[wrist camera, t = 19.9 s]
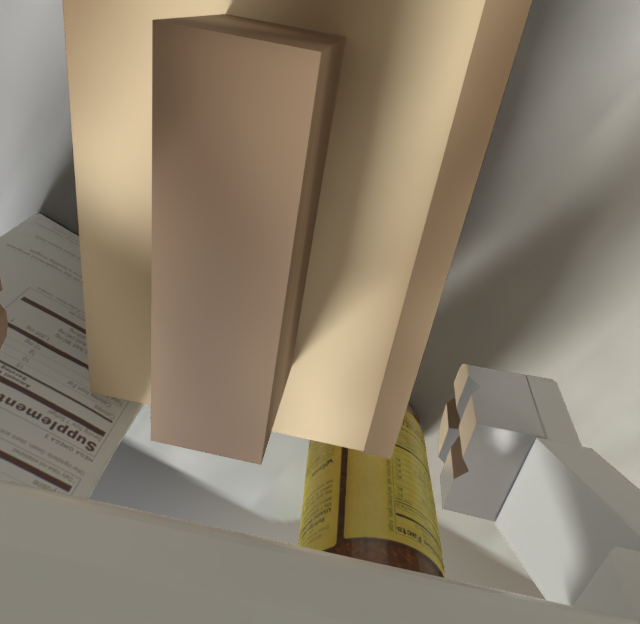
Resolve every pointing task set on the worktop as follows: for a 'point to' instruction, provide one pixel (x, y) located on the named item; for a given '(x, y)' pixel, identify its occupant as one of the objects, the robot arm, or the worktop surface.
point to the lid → (334, 203)
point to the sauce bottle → (373, 503)
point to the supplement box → (51, 368)
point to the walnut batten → (232, 220)
